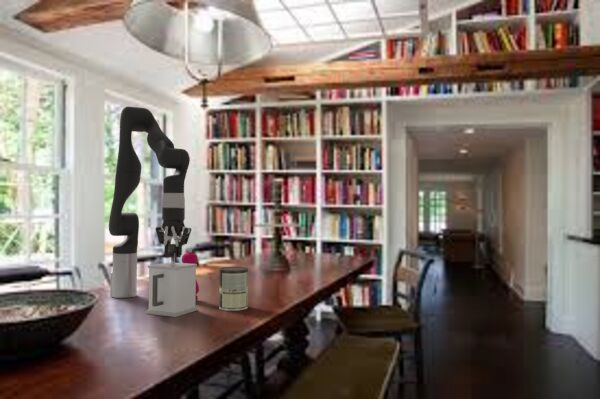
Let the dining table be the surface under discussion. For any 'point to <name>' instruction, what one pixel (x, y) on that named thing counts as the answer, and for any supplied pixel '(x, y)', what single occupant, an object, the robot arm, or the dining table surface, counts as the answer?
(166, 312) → the white cabinet
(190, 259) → the pepper mill
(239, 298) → the coffee can
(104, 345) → the dining table surface
